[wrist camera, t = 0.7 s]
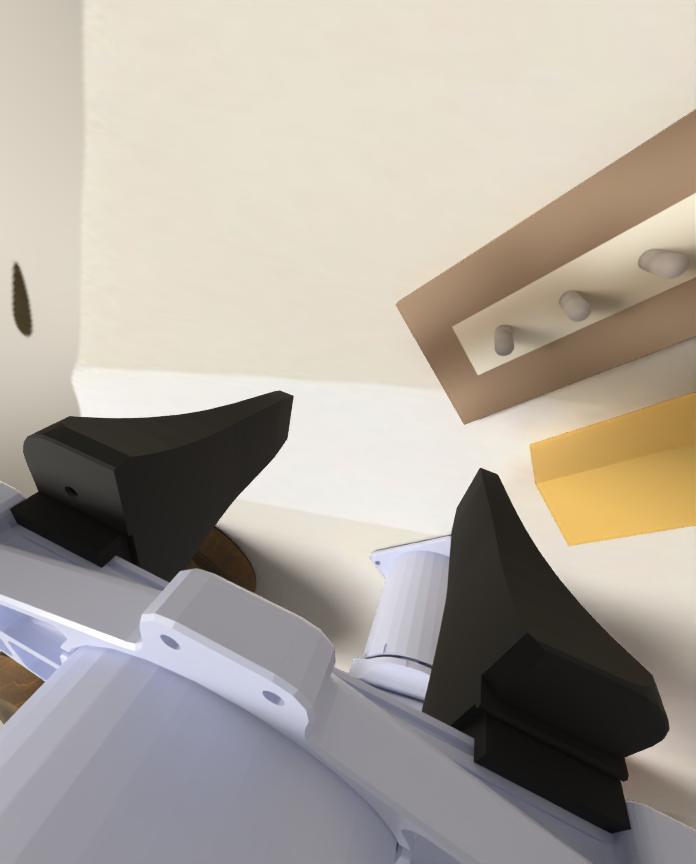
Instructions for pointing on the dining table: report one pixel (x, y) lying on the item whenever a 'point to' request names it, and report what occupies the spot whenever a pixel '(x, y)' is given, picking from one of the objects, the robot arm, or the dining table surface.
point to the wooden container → (14, 684)
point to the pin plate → (569, 284)
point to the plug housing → (622, 473)
